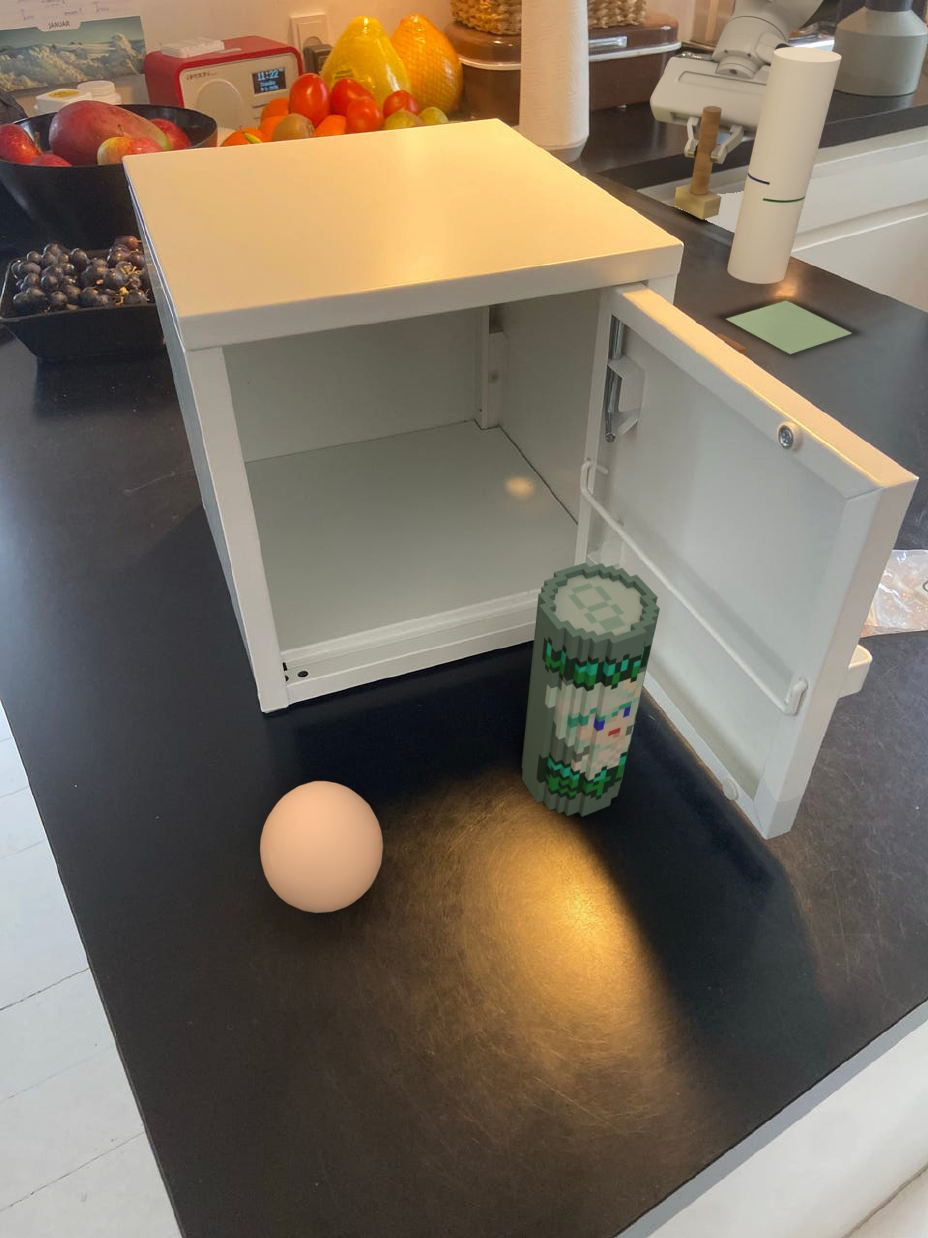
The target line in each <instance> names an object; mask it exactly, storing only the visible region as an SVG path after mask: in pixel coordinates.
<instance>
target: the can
mask: <svg viewBox="0 0 928 1238" xmlns="http://www.w3.org/2000/svg"><path fill="white" fill-rule="evenodd" d="M658 597H659V596H657V595H656V594H655V592H654V591H653V590H651V588H650V587H649V586H648V585H647V584H646V583H645V581H644V580H643V579H642V578H641V577H640V576H639V575H638V574H634V575H630V574H629V573H628V572H627V571H626V570H625V569H624V568H623V567H621V568H617V569H616V568H615V566H613V565H609V566H606V565H604V563H603V562H601V563H598V564H594V565H590V566H589V564H588V563H587V562H583V563H579V564H576V565H574V566H570V567H566V568H563V569H560V570H556V571H554V572H553V577H552V578H548V579H544V583H543V586H541V589H540V592H539V593H538V596H537V607H536V615H535V616H536V617H535V624H534V625H535V627H534V636H533V646H532V647H533V648H532V655H531V657H532V658H531V667H530V678H529V686H528V687H529V688H528V698H527V709H526V718H525V730H524V738H523V739H524V740H523V748H522V750H523V751H522V759H521V760H522V761H521V769H522V775H521V780H522V782H523V783H524V785H525V787H526V788H527V790H528V791H529V793H530V795H531V796H532V798H533V799H534V801H535V803H536V804H538V803H542V802H543V804H544V805H545V807H546V808H547V810H548V811H549V812H550V811H552V810H555V811H556V813H557V814H561V813H564V814H565V816H566V817H569V816H572V815H574V814H576V813H578V814H579V815H580V816H581V817H584V816H587V815H589V814H592V813H595V812H597V811H599V810H602V809H605V808H607V807H609V806H611V801H612V799H614V798H616V797H618V796H619V791H620V788H621V785H622V781H623V777H624V773H625V767H626V764H627V758H628V755H629V750H630V745H631V741H632V736H633V733H634V732H633V731H634V728H635V723H636V718H637V714H638V710H639V706H640V700H641V695H642V691H643V688H644V687H643V686H644V682H645V678H646V673H647V668H648V664H649V659H650V655H651V651H652V646H653V643H654V638H655V632H656V629H657V628H656V627H657V623H658V619H659V615H660V610H661V608H660V607H659V605H658V604H657V602H658Z"/></svg>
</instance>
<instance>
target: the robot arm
mask: <svg viewBox="0 0 928 1238" xmlns="http://www.w3.org/2000/svg"><path fill="white" fill-rule="evenodd" d="M840 1H841V0H736V4H735V9H734V12H733V14H732V15H731V16H730V17H729V19H728V20H727V22H726V23H725V25H724V27H723V30H722V32H721V34H720V37H719V39H718V41H717V43H716V46H715V48H714V51H713V52H712V54H708V53H695V52H692V51H688V50H687V51H686V50H685V51H682V52H681V53H677V54H676V55H674V56H672V57H670V58H669V60H668V61H667V64H666V65H665V68H664V71H663V74H662V75H661V77H660V79H659V80H658V82H657V84H656V86H655V88H654V90H653V91H652V94H651V96H650V99H649V106H650V110H651V112H652V115H653V117H654V119H655V120H656V121H658V122H662V123H668V124H673V125H679V126H684V127H686V131H687V139H688V140H687V142H686V145H685V147H684V150H683V153H684V157H685V158H690V159H695V157H696V151H697V144H698V139H697V138H695V136H699V132H700V126H701V119H702V113H703V108H704V107H707V106H717V107H720V108H721V109H722V113H721V118H720V124H719V130H718V133H721V134H726V135H729V136H728V137H727V138H726V139H725V140H724V141H723V142H722V143H721V144H720V143H716V144H715V146H714V150H713V151H712V153H711V159H712V160H711V162H713V163H715V164H719V165H722V164H724V161H725V159H726V157H727V155H728V154H729V153H730V152H732V151H733V150H734V149H735V148H737V147H738V146H739V145H740V144H741V143H742V141H743V138H747V139H752V140H755V137H756V132H757V127H758V123H759V118H760V113H761V109H762V104H763V99H764V95H765V90H766V85H767V81H768V76H769V71H770V67H771V62H772V57H773V53H774V51H775V50H776V49H779V48H786V47H795V46H794V45H793V44H791V43H789V40H790V38H791V35H792V33H793V32H794V30H797V29H798V30H802V29H805V28H808V27H810V26H812V25H814V24H816V23H818V22H821V21H822V20H824V19H826V18H827V17H828V16H829V15H831V14H832V13H833V11H834V10H835V9H836V7H837V6H838V4H839V3H840Z"/></svg>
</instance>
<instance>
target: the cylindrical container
mask: <svg viewBox="0 0 928 1238" xmlns="http://www.w3.org/2000/svg"><path fill="white" fill-rule="evenodd" d="M841 61H842V55H841V54H839V53H837V52H835V51H832V50H827V49H823V48H816V47H806V46H794V47H786V48H779V49H776V50H775V51H774V53H773V57H772V62H771V67H770V71H769V76H768V81H767V85H766V90H765V95H764V99H763V104H762V109H761V113H760V118H759V123H758V127H757V132H756V137H755V139H754V142H753V146H752V151H751V156H750V160H749V165H748V169H747V173H746V174H747V175H746V180H745V185H744V189H743V193H742V198H741V203H740V207H739V213H738V215H737V222H736V226H735V230H734V236H733V240H732V245H731V249H730V255H729V257H728V263H727V268H726V271H727V273H728V274H729V276H731V277H733V278H735V279H737V280H739V281H743V282H745V283H750V284H751V283H752V284H759V285H760V284H761V285H765V284H767V285H769V284H775V283H779V282H781V281H783V280H784V279H785V278H786V274H787V270H788V266H789V261H790V257H791V254H792V252H793V251H792V250H793V246H794V243H795V238H796V235H797V231H798V227H799V223H800V219H801V215H802V212H803V208H804V203H805V200H806V196H807V192H808V189H809V185H810V181H811V177H812V173H813V170H814V166H815V162H816V159H817V155H818V150H819V147H820V143H821V139H822V136H823V135H822V134H823V130H824V126H825V123H826V119H827V115H828V111H829V108H830V104H831V99H832V95H833V91H834V88H835V85H836V81H837V77H838V73H839V68H840V65H841Z"/></svg>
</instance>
